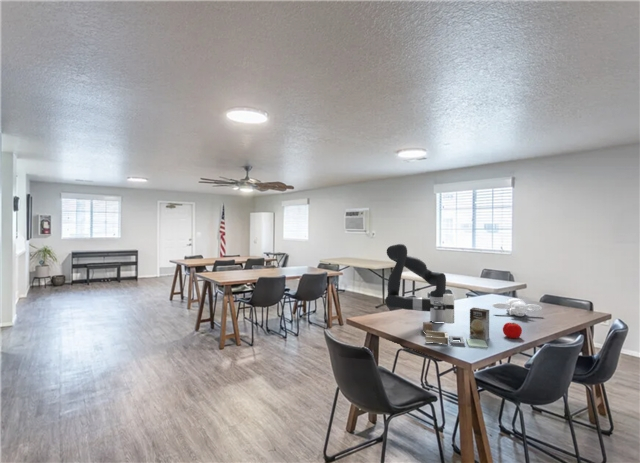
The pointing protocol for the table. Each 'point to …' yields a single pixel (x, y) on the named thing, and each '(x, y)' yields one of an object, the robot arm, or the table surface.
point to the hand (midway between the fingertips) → (453, 305)
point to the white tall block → (448, 313)
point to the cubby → (437, 337)
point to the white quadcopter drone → (517, 306)
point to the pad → (477, 343)
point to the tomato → (512, 330)
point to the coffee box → (479, 323)
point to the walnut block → (427, 326)
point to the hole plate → (456, 341)
